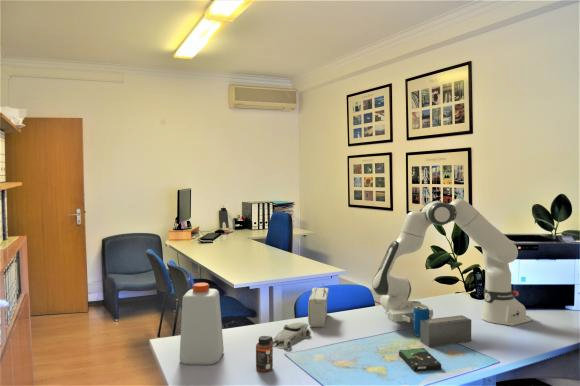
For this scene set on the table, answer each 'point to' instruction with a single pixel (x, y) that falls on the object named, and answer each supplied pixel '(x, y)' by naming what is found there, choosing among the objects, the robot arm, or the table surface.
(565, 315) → the table surface
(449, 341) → the box
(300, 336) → the car model
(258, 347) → the supplement bottle
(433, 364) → the disk drive
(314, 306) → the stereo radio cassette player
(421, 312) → the beverage can
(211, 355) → the plastic bottle
